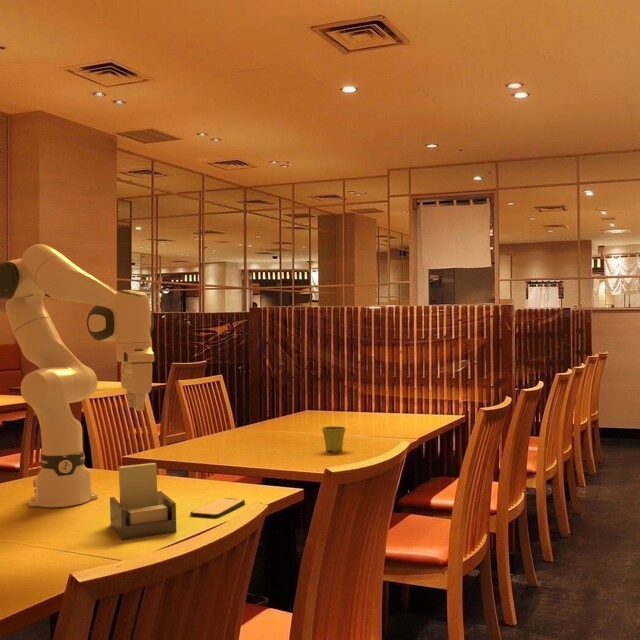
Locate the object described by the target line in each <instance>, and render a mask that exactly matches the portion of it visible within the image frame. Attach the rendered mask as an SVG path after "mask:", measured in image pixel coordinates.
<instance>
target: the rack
mask: <svg viewBox="0 0 640 640" xmlns="http://www.w3.org/2000/svg"><path fill="white" fill-rule="evenodd" d="M157 499H158V505H164V506H166V507H167V515H168V520H162V521H155V522H148V523H141V524H134V525H127V526H126V522H127V516H126V512H125V509H124V508H123V506H122V505H121V504H120V501H119V500H117V498H116V497H115V496H110V497H109V513H110V515H109V517H110V526H111V527H112V529H113V530H114V532H115V533H116V534H117V535H118V537H119V538H120V539H121V541H126V540H131V539H138V538H139V539H140V538H144V537H145V538H146V537H151V536H153V537H154V536H159V535H166V534H171V533H177V531H178V530H177V505H176V502H175V501H174V500H172V499H171V497H169V496H168V495H166V494H165V493H164V492H163V491H162V490H157Z"/></svg>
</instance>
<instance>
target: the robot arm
mask: <svg viewBox="0 0 640 640" xmlns="http://www.w3.org/2000/svg"><path fill="white" fill-rule="evenodd" d="M44 297H47V298H53V299H55V300H57V301H62V302H70V303H80V304H89V305H92V306H93V307H92V308H91V310H90V311H89V312H88V314H87V318H86V327H87V330H88V333H89V335H90V336H91V337H92V338H93V339H94V340H95V341H100V342H116V343H115V350H116V351H115V353H116V355H115V358H116V362H117V363H118V362H119V363H121V364H120V385H121V388H122V389H124V390H126V397H127V405H128V408H135V410H136V411H137V412H142V411H145V402H146V394H150V392H151V390H152V385H153V384H152V383H153V362H155V353H154V351H153V340H152V337H151V333H152V331H153V330H154V326H155V320H154V315H153V312H152V311H151V304H150V300H149V296H148V294H146V293H145V292H144V291H141V290H140V291H139V290H131V289H120V290H118V291H117V290H116V289H115V288H113V287H111V286H109V284H107V283H105V282H103V281H102V280H100V279H98V278H96V277H95V276H93V275H92V274H90V273H89V272H87V271H85V270H83V269H82V268H81V267H79V266H78V265H77V264H75V263H74V262H72V261H71V260H70V258H69V259H68V258H67V257H66V256H65V255H64V254H62V253H61V252H60V251H58V250H57V249H55V248H53V247H51V246H49V245H47V244H43V243H37V244H33V245H30V246H29V247H28V248H27V249H26V250H25V251H24V252H23V254H22V256H21V257H20V258H15V259H11V260H8V261H0V300H6V302H5V307H4V308H5V312H6V315H7V319H8V323H9V325H10V328H11V331H12V333H13V335H14V338H15V339H16V342H17V343H18V346H19V348H20V350H21V352H22V354H23V357H25V359H26V360H28V362H30V363H33V364H34V365H36V367H38V369H36V370H33V371H31V372H28V373H27V374H26V375H25V376H24V377H23V378H22V380H21V383H20V394H21V397H22V399H23V401H24V402H25V403H26V404H28V405H29V406H30V407H31V408H32V410H33V411H34V414H35V416H36V417H37V420H38V423H39V427H40V437H41V454H40V459H39V462H40V467H41V469H40V471H39V472H38V473H37V474H36V476H35V478H34V479H33V480H32V482H33V483H32V485H33V488H34V492H33V495H32V497H31V498H30V500H29V502H28V506H29V507H40V508H41V507H43V508H64V507H72V506H76V505H82V504H85V503H88V502H89V501H91V500H94V499H98V498H99V496H98V493H96V492H94V491H92V490H93V489H92V479H91V476H92V475H91V470H90V469H89V468H88V467H86V465H85V462H86V460H85V459H86V455H85V451H84V449H83V427H82V426H83V425H82V423H81V422H80V421H79V420H78V419H76V418H75V416H74V414H73V413H72V410H71V405H70V404H72V403H79V402H81V401H83V400H86V399H87V398H89V397H91V396H92V395H94V394H95V392H96V390H97V386H98V378H97V374H96V373H95V371H94V370H93V369H92V368H90V367H89V366H87V365H85V364H84V363H82V362H81V361H80V360H79V359H78V358H77V357H76V356H75V355H74V354H73V353H72V351H70V349H69V348H68V347H67V346H66V344H65V343H64V341H63V340H62V338H61V336H60V334H59V332H58V330H57V329H56V326H55V324H54V322H53V321H52V318H51V316H50V314H49V313H48V311H47V309H46V306H45V304H44Z"/></svg>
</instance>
